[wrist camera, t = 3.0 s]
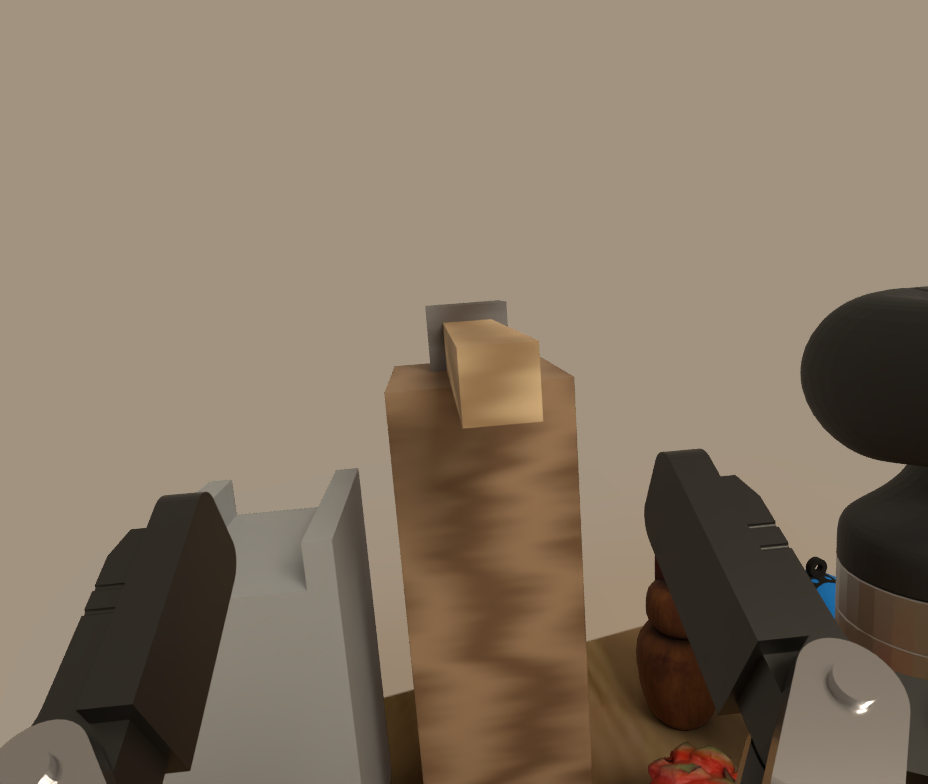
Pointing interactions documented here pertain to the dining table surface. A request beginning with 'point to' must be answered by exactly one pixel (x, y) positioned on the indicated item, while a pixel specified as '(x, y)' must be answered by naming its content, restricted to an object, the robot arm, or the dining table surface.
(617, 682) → the dining table surface
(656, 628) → the wooden figurine
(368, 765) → the grey post
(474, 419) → the light wooden block
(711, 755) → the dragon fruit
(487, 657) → the walnut post
